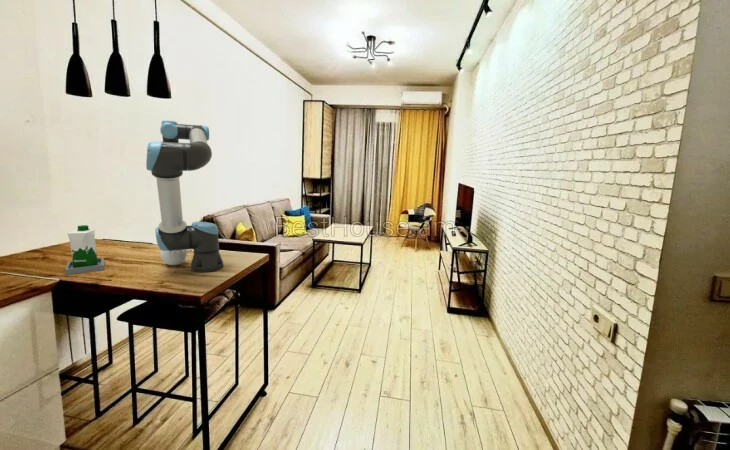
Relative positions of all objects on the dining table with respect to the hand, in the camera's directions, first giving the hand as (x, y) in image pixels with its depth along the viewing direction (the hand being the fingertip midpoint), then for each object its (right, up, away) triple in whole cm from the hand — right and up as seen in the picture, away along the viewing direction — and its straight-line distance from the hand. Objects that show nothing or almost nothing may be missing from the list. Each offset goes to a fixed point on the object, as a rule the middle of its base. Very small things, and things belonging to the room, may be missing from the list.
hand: (174, 190), depth 185 cm
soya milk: (-32, -40, -20) cm, 55 cm away
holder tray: (-32, -40, -20) cm, 55 cm away
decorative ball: (+6, -40, -11) cm, 42 cm away
